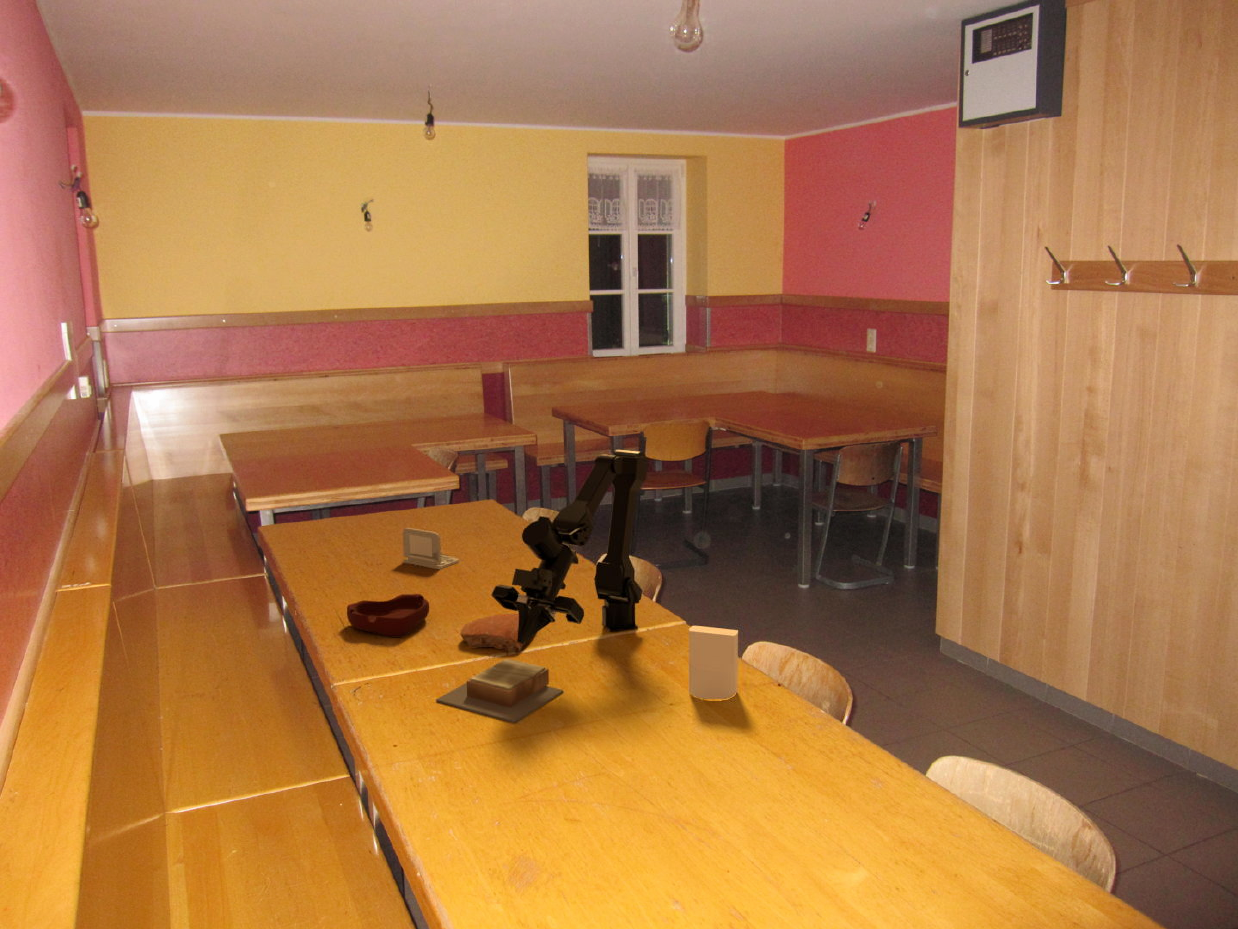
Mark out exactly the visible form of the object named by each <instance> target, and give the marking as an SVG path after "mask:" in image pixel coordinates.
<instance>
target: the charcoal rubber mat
mask: <svg viewBox="0 0 1238 929" xmlns="http://www.w3.org/2000/svg"><path fill="white" fill-rule="evenodd" d="M563 693H564V689H560V688H556V687H552V686H548V685H546V686H545V687H543V688H541V689H540V690H538V691H537V692H535V693H533V694H532V695H530V696H528V697H527V698H525V699H524V700H522V701H520V702H519V703H517V704H515V705H514V706H512V707H506V706H503V705H499V704H495V703H492V702H488V701H484V700H480V699H477V698H473V697H469V696H467V682H465V683H464V684H462V685H460V686H458V687H456V688H455V689H452V690H451V691H449V692H447V693H445V694H443V695H442V696H440V697H437V698H436V699H435V701H436V702H437V703H441V704H445V705H448V706H451V707H455V708H459V709H462V710H466V711H469V712H473V713H475V714H476V713H477V714H480V715H484V716H488V717H491V718H494V719H498V720H502V721H505V722H507V723H508V722H509V723H512V724H516V723H518V722H519V721H521V720H523V719H525V718H526V717H528V716H529V715H530V714H531V713H533V712H535V711H537V710H538V709H540V708H541V707H543V706H544V705H546V704H548V703H549V702H550V701H552V700H554V699H555V698H557V697H558V696H560V695H561V694H563Z"/></svg>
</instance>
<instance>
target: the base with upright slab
mask: <svg viewBox="0 0 1238 929" xmlns="http://www.w3.org/2000/svg"><path fill="white" fill-rule="evenodd" d="M738 652H739V630H738V629H728V628H721V627H719V628H718V627H713V626H711V627H710V626H703V625H702V626H700V625H692V626H691V627H689V628H688V693H689V692H690V693H691V694H692V695H694V696H696V697H698V698H702V699H713V700H714V699H727V698H730V697H732V696H733V695H735V693H737V694H738V663H739V662H738V658H739V657H738V655H739V654H738ZM690 693H689V694H690Z"/></svg>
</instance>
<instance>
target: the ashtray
mask: <svg viewBox="0 0 1238 929" xmlns="http://www.w3.org/2000/svg"><path fill="white" fill-rule="evenodd" d="M429 612H430V602H429V601H428V600H427V599H426V598H424V596H423V595H422V594H420V593H412V594H411V593H409V594H407V593H405V594H403V593H402V594H399V595H397V596H396V597H394V598H392V599H388V600H381V601H377V600H375V601H374V600H363V599H362V600H360V601H357V602H354V603H351V604H348V605H347V606H346V616H347V620H348V622H349V623H350V625H351V626H352V627H353V628H355V629H356V630H360V631H366V632H370V633H375V634H378V635H382V636H387V637H391V638H403V637H405V636H407V635H409V634H410V633H411V632H412V631H413V630H414V629H415V628H417V626H418V625H419V624H420V623H421V622H423V621H424V620H425V619H426V618H427V617H428V615H429ZM402 636H403V637H402Z"/></svg>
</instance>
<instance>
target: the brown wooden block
mask: <svg viewBox="0 0 1238 929" xmlns="http://www.w3.org/2000/svg"><path fill="white" fill-rule="evenodd" d="M549 672H550V671H549V668H546V667H544V666H540V665H536V664H534V663H533V664H532V663H528V662H524V661H519V660H515V659H510V658H505V659H503V660H501V661H499V662H498V663H496V664H493V665H492V666H490V667H488V668H487V669H485V670H483V671H481V672H479V673H478V674H475V675H474V676H471V677H470V678H469V679H467V680H466V683H467V696H469V697H473V698H477V699H480V700H484V701H488V702H492V703H495V704H499V705H503V706H506V707H512V706H514V705H515V704H517V703H519V702H520V701H522V700H524V699H525V698H527V697H528V696H530V695H532V694H533V693H535V692H537V691H538V690H540V689H541V688H543V687H545V686H548V685H549V684H550V676H549V675H550V674H549Z"/></svg>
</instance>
